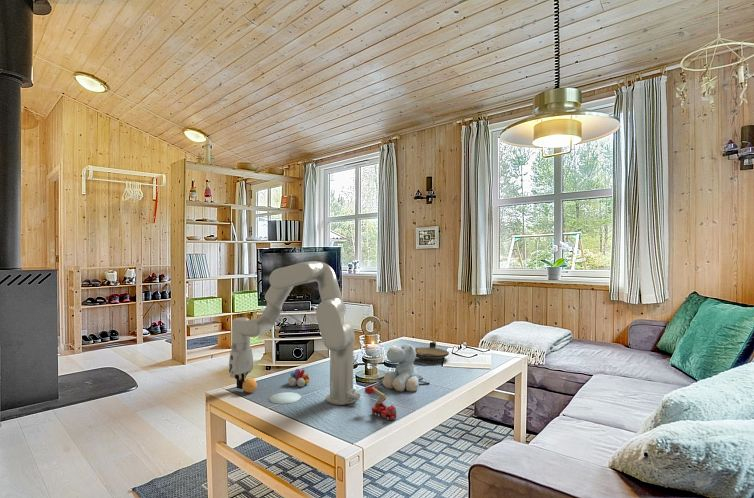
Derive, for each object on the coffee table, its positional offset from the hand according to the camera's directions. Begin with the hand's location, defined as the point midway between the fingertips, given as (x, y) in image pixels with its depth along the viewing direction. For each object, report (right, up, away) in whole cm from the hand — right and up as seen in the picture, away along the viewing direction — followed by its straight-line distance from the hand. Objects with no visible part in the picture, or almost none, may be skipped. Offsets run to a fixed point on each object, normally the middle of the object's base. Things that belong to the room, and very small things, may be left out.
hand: (240, 388), depth 182 cm
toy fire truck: (+61, -2, -26) cm, 66 cm away
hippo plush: (+73, -2, +10) cm, 74 cm away
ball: (+4, +2, -2) cm, 5 cm away
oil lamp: (+91, -2, +56) cm, 107 cm away
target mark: (+21, -1, -9) cm, 23 cm away
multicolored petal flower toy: (+24, -2, +9) cm, 26 cm away
